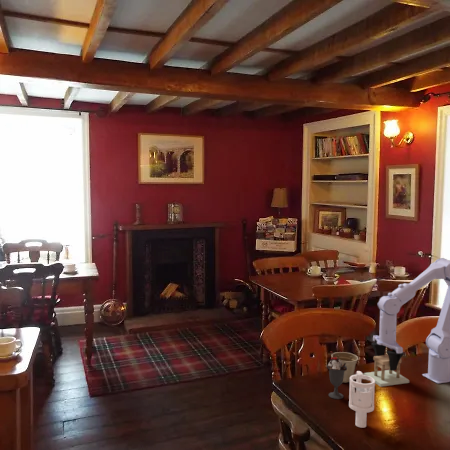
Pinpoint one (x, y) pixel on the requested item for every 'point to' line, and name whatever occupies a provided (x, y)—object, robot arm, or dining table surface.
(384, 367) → the stool
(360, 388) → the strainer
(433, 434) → the dining table surface
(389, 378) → the board
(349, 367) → the flower pot
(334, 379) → the sundae
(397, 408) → the dining table surface
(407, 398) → the dining table surface
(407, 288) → the robot arm
